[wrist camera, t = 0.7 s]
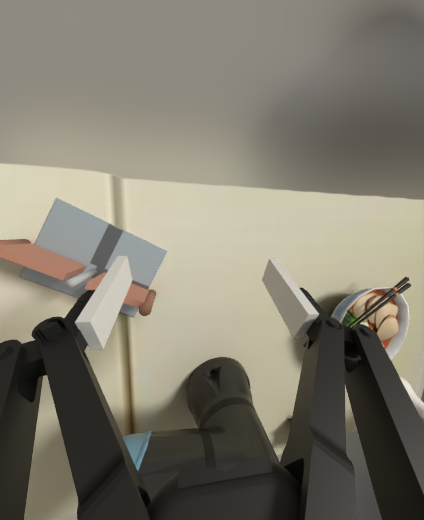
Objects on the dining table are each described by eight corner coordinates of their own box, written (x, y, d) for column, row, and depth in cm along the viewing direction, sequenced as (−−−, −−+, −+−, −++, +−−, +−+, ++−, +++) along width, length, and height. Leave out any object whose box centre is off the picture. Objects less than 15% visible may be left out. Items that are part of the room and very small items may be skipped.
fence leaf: (83, 272, 31) (56, 284, 24) (16, 246, 28) (-36, 251, 21) (87, 264, 31) (61, 273, 24) (20, 237, 28) (-30, 238, 21)
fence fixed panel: (153, 299, 35) (147, 318, 27) (89, 274, 31) (62, 287, 24) (157, 291, 35) (152, 308, 27) (94, 265, 31) (68, 276, 24)
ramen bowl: (324, 372, 49) (353, 398, 41) (293, 313, 43) (320, 330, 35) (386, 322, 51) (425, 338, 43) (365, 260, 46) (405, 265, 38)
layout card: (134, 316, 34) (133, 317, 34) (20, 276, 29) (18, 276, 29) (167, 251, 34) (167, 251, 34) (57, 198, 29) (56, 197, 28)
